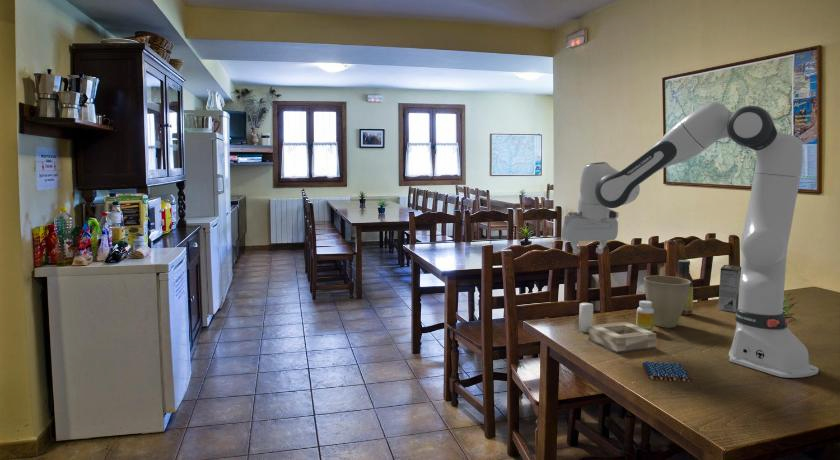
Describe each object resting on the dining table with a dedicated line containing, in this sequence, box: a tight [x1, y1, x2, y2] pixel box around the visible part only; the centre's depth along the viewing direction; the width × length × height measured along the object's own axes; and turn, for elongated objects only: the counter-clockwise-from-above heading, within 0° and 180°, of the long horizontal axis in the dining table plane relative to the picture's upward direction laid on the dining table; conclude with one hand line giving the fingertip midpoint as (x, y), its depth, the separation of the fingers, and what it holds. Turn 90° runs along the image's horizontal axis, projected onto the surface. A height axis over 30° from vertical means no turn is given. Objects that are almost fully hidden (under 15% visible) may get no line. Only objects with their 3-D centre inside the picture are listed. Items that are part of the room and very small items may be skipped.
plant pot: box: [643, 275, 691, 328], centre depth 204 cm, size 15×15×16 cm
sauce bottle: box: [675, 259, 694, 316], centre depth 219 cm, size 6×6×20 cm
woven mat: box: [642, 361, 692, 382], centre depth 159 cm, size 10×11×2 cm
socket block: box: [588, 321, 657, 354], centre depth 183 cm, size 14×14×5 cm
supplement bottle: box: [635, 300, 654, 332], centre depth 198 cm, size 5×5×10 cm
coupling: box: [577, 302, 594, 334], centre depth 198 cm, size 7×4×9 cm, turn 19°
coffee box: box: [717, 264, 741, 313], centre depth 226 cm, size 9×6×16 cm
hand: (587, 253), depth 195 cm, fingers open, 8 cm apart
